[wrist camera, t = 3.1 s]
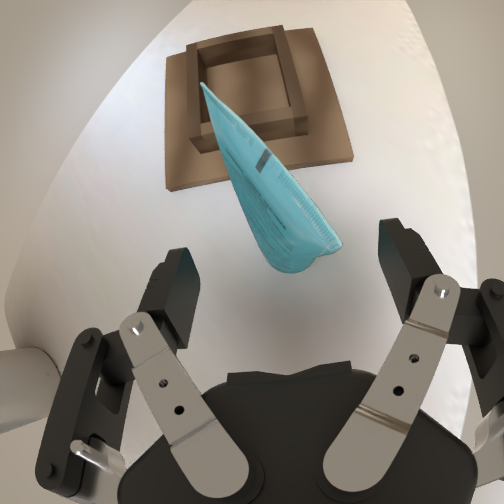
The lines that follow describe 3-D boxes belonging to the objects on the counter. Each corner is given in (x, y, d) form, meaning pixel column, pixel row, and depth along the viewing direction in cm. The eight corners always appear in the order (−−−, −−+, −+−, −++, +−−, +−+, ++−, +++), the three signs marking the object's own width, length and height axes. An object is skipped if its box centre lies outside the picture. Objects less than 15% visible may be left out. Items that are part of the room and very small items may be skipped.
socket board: (170, 191, 31) (149, 176, 26) (170, 62, 33) (155, 40, 29) (352, 161, 28) (359, 139, 23) (312, 34, 31) (311, 7, 26)
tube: (337, 258, 27) (401, 188, 8) (296, 294, 27) (279, 302, 9) (282, 197, 29) (240, 52, 10) (242, 232, 29) (137, 135, 10)
